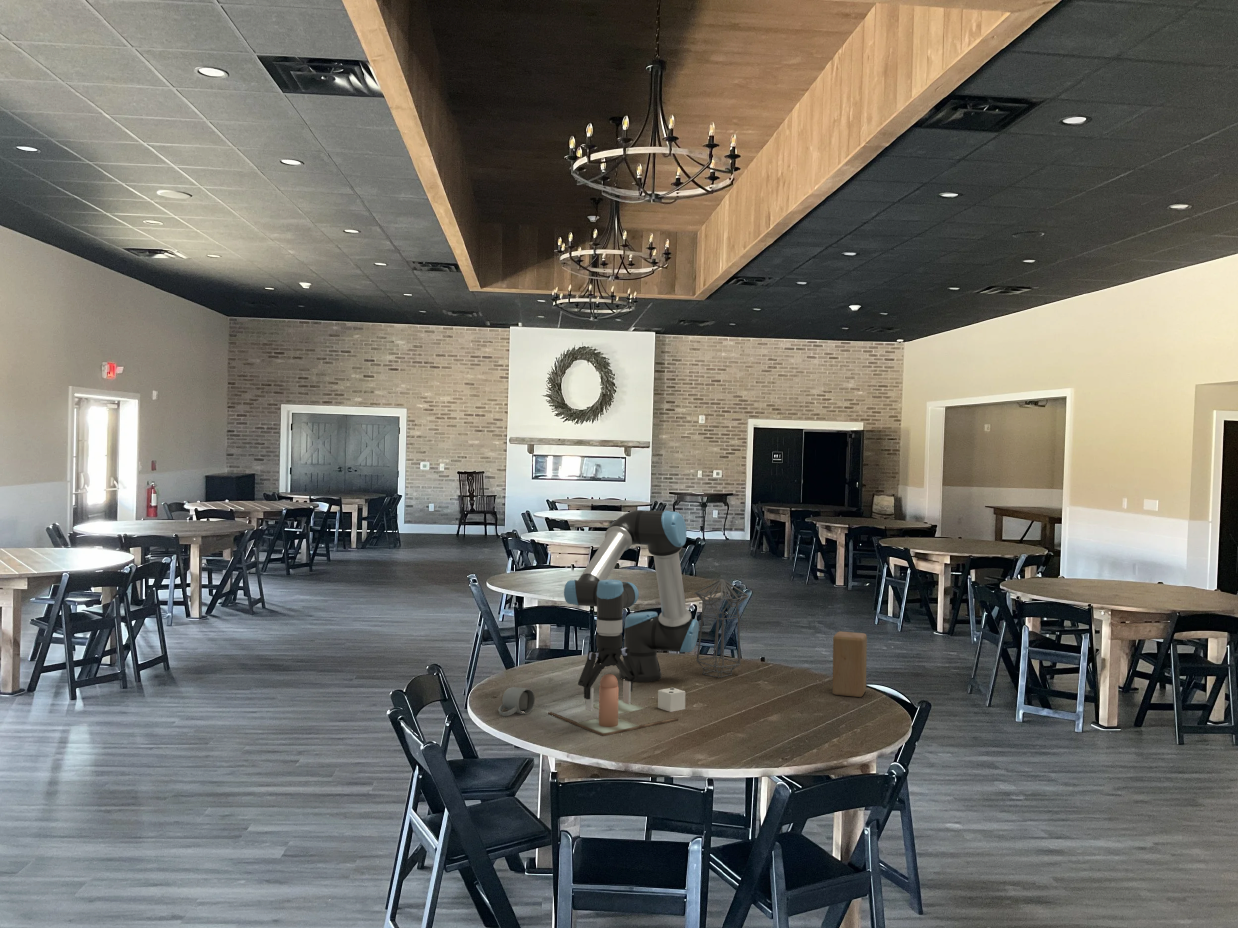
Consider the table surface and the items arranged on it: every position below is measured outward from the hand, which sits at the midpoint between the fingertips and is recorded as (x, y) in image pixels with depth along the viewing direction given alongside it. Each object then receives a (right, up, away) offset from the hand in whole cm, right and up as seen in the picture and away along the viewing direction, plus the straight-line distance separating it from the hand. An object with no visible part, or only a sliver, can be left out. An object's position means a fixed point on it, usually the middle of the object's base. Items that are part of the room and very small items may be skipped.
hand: (608, 706), depth 270 cm
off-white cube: (+19, -6, +19) cm, 28 cm away
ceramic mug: (-29, -6, +13) cm, 32 cm away
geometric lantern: (+40, -7, +69) cm, 80 cm away
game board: (+1, -6, +10) cm, 11 cm away
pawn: (0, -5, 0) cm, 5 cm away
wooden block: (+81, -7, +44) cm, 92 cm away
